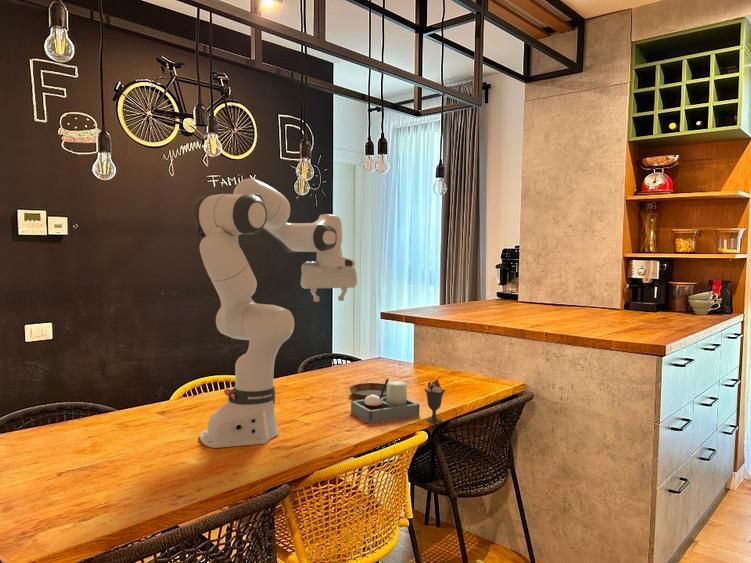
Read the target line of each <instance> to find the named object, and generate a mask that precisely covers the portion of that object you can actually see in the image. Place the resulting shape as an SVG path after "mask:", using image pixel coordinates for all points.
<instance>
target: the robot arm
mask: <svg viewBox="0 0 751 563" xmlns="http://www.w3.org/2000/svg"><path fill="white" fill-rule="evenodd" d="M290 215H291V204H290V202H289V199H287V198H286V196H285V195H284V194H282V192H279V191H278V190H277V189H276V188H274V187H272V186H270V185H268V184H267V183H265V182H263V181H260V180H259V179H255V178H245V179H242V180H241V181H239V182H238V184H237V185H236V186H235V188H234V190H233V193H220V194H207V195H203V196H202V197H199V198H197V199H196V201H195V202H194V204H193V206H192V219H193V220H192V221H193V222H194V225H195V227H196V231H197V234H199V235H200V236H201V238H202V239H201V241H200V244H199V253H200V257H201V259H202V262H203V266H204V268H205V270H206V273H207V275H208V277H209V279H210V281H211V283H212V285H213V287H214V288H215V291H216V292H217V294H218V297H219V300H220V308H219V309H218V311H217V313H216V316H215V325H216V329H217V330H218V332H219V333H220V334H222V335H224V336H227V337H229V338H232V339H235V340H243V341H245V340H246V341H249V342H248V348H247V351H246V353H244V354H242V355H240V356H239V357H238V359H237V360H236V362H235V369H234V371H235V375H234V380H235V381H234V382H235V384H234V387H233V388H231V389H230V388H229V387H225V388H224V390H223V393H224V395H225V396H227V397H228V401H227V402H225V403H224V404H223V405H221V406H220V407H219V408H218V409H217V410H216V411H215V412H213V413H212V414H211V415H210V417H209V420H208V423H207V429H205V430H202V431H201V432H200V434H199V441H200V442H201V443H202V445H204V446H205V447H209V448H213V449H217V448H218V449H219V448H220V449H221V448H229V447H230V448H231V447H241V446H252V445H261V444H263V445H264V444H266V443H268V442H270V440H271V439H274V438H276V437H277V436H278V435H279V432H280V431H279V428H278V425H277V420H276V415H275V414H276V413H275V403H276V402H275V401H276V389H275V388H276V387H275V386H274V370H275V362H276V361H275V360H276V357H277V354H278V352H279V350H280V348H281V346H282V345H283V344H284V343H285V342H286V341H288V340H289V339H290V337H291V336H292V335H293V332H294V329H295V317H294V316H293V313H292V312H291V311H290V310H289V309H287V308H285V307H283V306H279V305H276V304H264V303H257V302H255V301H254V299H252V296H253V295H254V294H255V292H256V290H257V287H258V282H257V278H256V276H255V274H254V272H253V269H252V268H251V266H250V263H249V262H248V259H247V257H246V256H245V253H244V252H243V250H242V247H240V243H239V236H240V235H244V236H249V235H255V234H257V233H259V232H261V231H262V230H264V231H265V232H266V233H267V234H269V235H270V236H272V237H273V238H274V239H275V240H277V242H278V243H279V244H280V246H281V247H282V248H283V249H284V250H285V251H286V252H287V253H316V261H313V260H312V261H309V260H308V261H305V262H304V263H301V264H302V265H301V267H300V270H301V277H300V286H301V288H303V289H305V290H306V289H310V293H311V295H312V297H313V302H316V303H317V302H318V303H319V302H320V296H318V295H317V293H316V292H317V291H318V290H317V289H340V291H341V294H340V295H338V296H337V297H338V298H337V300H338V301H339V302H340V301H341V302H344V301H345V296H346V294H347V292H348V289H349V288H351V289H353V288H355V287H356V286H357V284H358V280H357V278H358V277H357V276H358V275H357V270H356V268H355V266H356V261H355V260H354V259H353V260H352V259H350V258H347V257H345V256H343V250H342V244H343V228H342V227H343V226H342V221H341V218H340V216H338V215H335V214H330V213H322V214H319V216H318V218H317V220H316V221H313V222H307V223H306V222H305V223H304V222H302V223H301V222H298V223H297V222H288V220H289V219H290V218H289V217H290Z"/></svg>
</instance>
